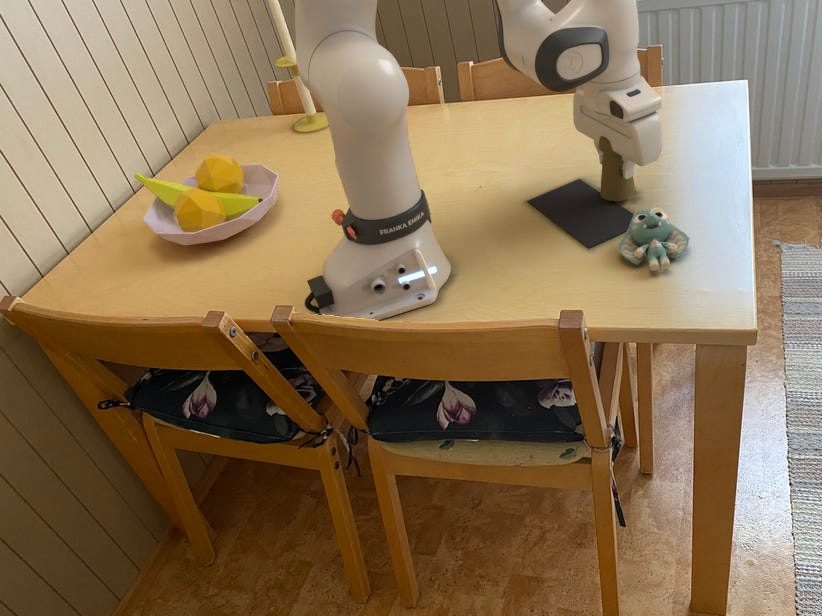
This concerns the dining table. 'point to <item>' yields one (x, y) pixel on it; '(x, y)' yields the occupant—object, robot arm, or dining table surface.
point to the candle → (296, 76)
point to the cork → (613, 175)
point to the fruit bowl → (211, 201)
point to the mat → (583, 213)
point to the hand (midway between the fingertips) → (616, 170)
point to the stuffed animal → (652, 239)
